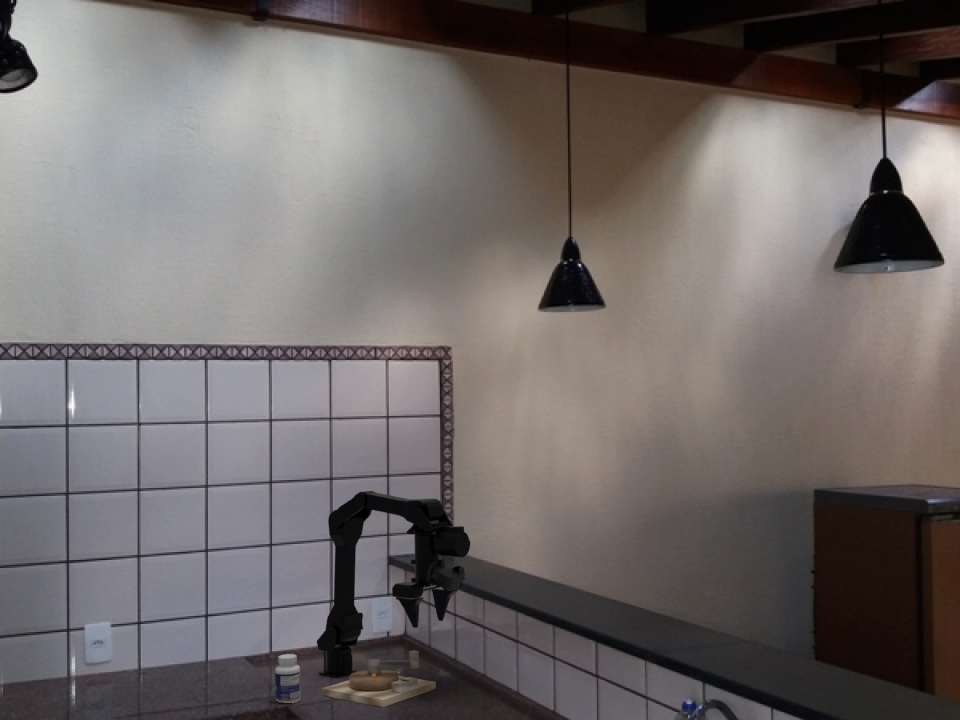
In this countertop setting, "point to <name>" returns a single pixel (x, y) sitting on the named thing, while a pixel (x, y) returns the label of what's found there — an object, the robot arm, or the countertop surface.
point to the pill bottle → (287, 679)
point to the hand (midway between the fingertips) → (428, 624)
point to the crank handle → (381, 673)
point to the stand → (381, 691)
